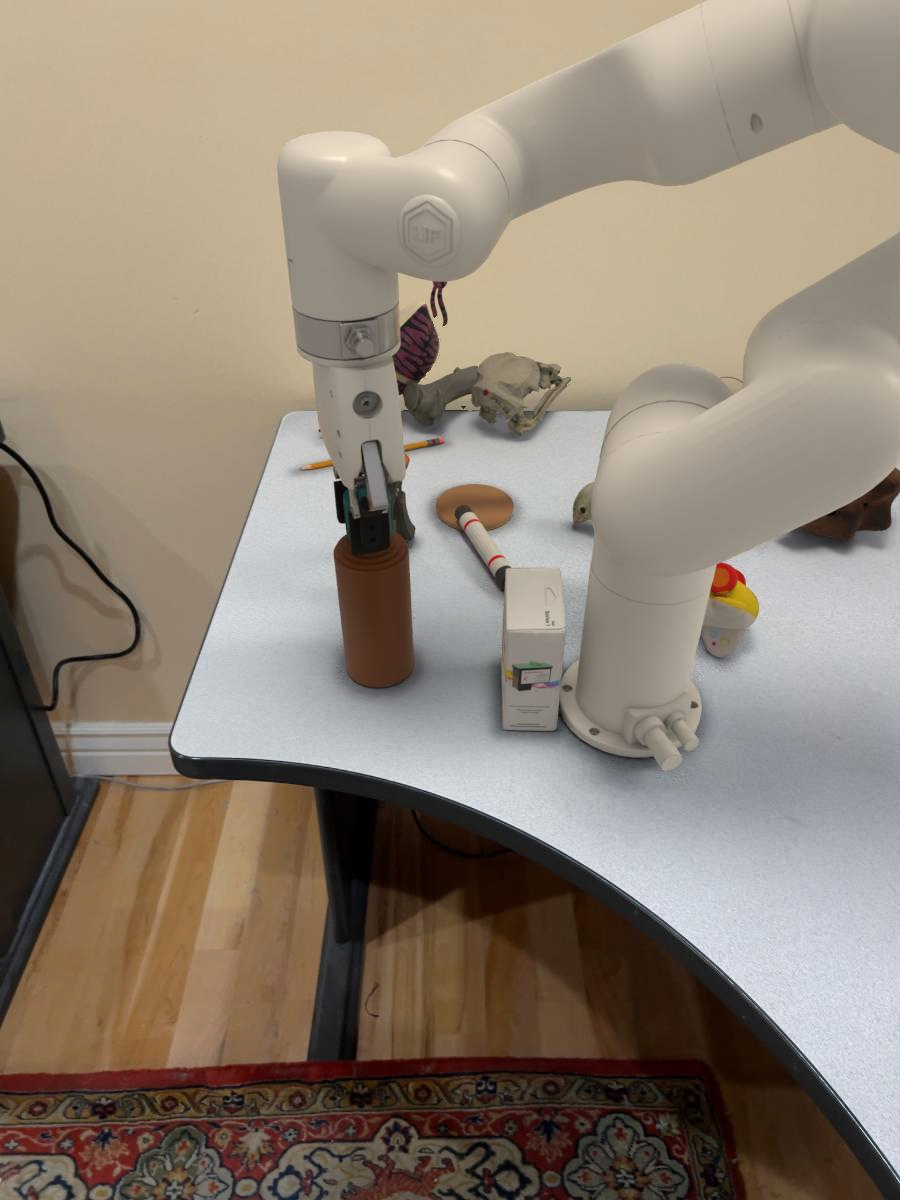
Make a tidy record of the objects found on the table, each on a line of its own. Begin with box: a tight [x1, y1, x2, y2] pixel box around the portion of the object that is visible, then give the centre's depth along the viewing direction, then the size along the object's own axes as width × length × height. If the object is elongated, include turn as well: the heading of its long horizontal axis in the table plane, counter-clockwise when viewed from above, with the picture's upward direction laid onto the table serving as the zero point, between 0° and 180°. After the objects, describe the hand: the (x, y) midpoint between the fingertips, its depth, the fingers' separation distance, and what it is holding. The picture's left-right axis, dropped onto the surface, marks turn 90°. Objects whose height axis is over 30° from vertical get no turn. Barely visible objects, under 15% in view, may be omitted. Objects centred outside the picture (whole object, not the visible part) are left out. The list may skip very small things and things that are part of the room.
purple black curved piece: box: [318, 281, 449, 433], centre depth 123 cm, size 25×8×19 cm
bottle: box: [333, 531, 415, 688], centre depth 82 cm, size 6×6×18 cm
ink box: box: [500, 567, 567, 732], centre depth 80 cm, size 8×5×12 cm, turn 178°
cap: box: [343, 487, 393, 539], centre depth 77 cm, size 4×4×4 cm
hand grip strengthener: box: [383, 453, 417, 541], centre depth 94 cm, size 2×13×15 cm, turn 169°
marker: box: [455, 505, 512, 590], centre depth 99 cm, size 15×2×2 cm, turn 21°
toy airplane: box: [700, 562, 760, 658], centre depth 90 cm, size 13×9×15 cm
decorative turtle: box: [801, 466, 900, 541], centre depth 100 cm, size 10×15×8 cm
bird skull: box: [470, 351, 571, 437], centre depth 125 cm, size 25×14×10 cm, turn 168°
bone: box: [402, 365, 478, 427], centre depth 125 cm, size 22×6×6 cm, turn 137°
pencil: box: [299, 437, 445, 470], centre depth 116 cm, size 19×1×1 cm, turn 111°
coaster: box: [435, 483, 515, 532], centre depth 107 cm, size 9×9×1 cm
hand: (363, 532), depth 78 cm, fingers closed on cap, 4 cm apart
